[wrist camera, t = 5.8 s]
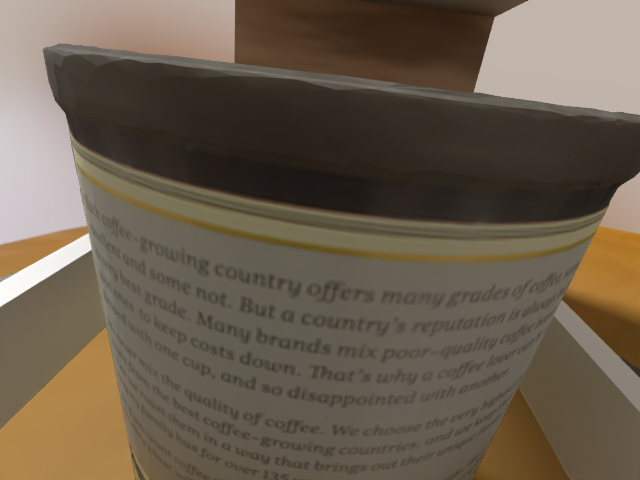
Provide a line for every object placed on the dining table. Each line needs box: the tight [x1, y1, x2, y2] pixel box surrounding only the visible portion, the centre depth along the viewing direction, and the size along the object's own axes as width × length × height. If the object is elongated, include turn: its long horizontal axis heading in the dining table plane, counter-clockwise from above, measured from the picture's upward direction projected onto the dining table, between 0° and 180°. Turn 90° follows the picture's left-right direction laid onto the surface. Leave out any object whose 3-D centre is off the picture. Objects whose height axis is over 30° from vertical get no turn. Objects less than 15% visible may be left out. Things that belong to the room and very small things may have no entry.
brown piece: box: [235, 0, 528, 92], centre depth 24 cm, size 16×20×22 cm
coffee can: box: [43, 44, 640, 480], centre depth 10 cm, size 10×10×14 cm
